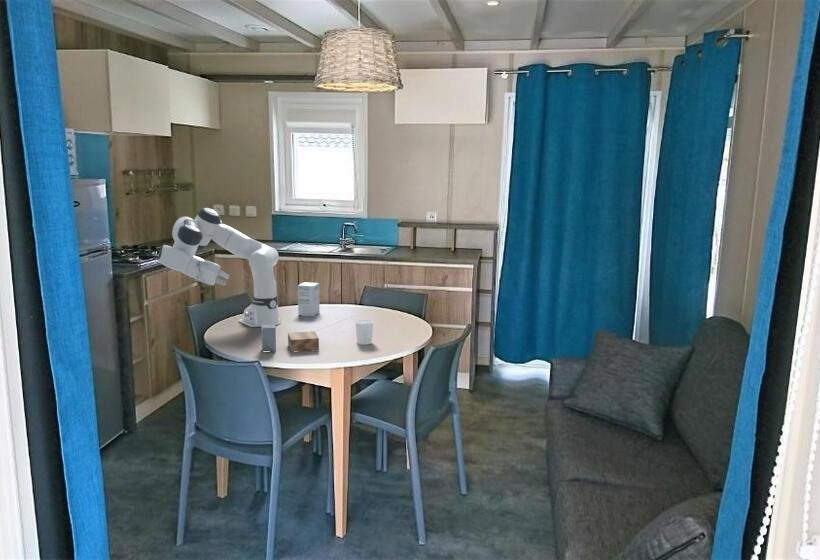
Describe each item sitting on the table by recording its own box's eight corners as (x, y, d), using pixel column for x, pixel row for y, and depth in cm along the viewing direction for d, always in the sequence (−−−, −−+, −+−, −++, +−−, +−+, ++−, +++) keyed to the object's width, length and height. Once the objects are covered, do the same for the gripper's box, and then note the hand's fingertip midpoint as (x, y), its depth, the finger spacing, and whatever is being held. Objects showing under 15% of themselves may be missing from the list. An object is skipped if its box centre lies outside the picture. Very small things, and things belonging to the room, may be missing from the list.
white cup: (356, 340, 299) (356, 319, 297) (373, 340, 299) (373, 320, 297) (354, 345, 291) (354, 323, 289) (372, 345, 291) (372, 324, 289)
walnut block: (291, 353, 279) (291, 339, 277) (288, 345, 290) (287, 333, 289) (318, 351, 282) (318, 338, 281) (314, 343, 293) (314, 331, 292)
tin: (262, 352, 278) (262, 328, 276) (261, 349, 283) (261, 325, 281) (276, 351, 279) (275, 327, 277) (274, 348, 285) (274, 324, 283)
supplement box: (304, 311, 355) (303, 281, 352) (320, 312, 353) (319, 282, 350) (297, 315, 346) (297, 285, 343) (314, 316, 344) (313, 285, 341)
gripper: (201, 253, 261) (233, 266, 264) (197, 268, 279) (228, 280, 282) (194, 266, 258) (227, 280, 261) (191, 280, 276) (222, 293, 280)
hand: (227, 280), depth 272 cm, fingers open, 8 cm apart
